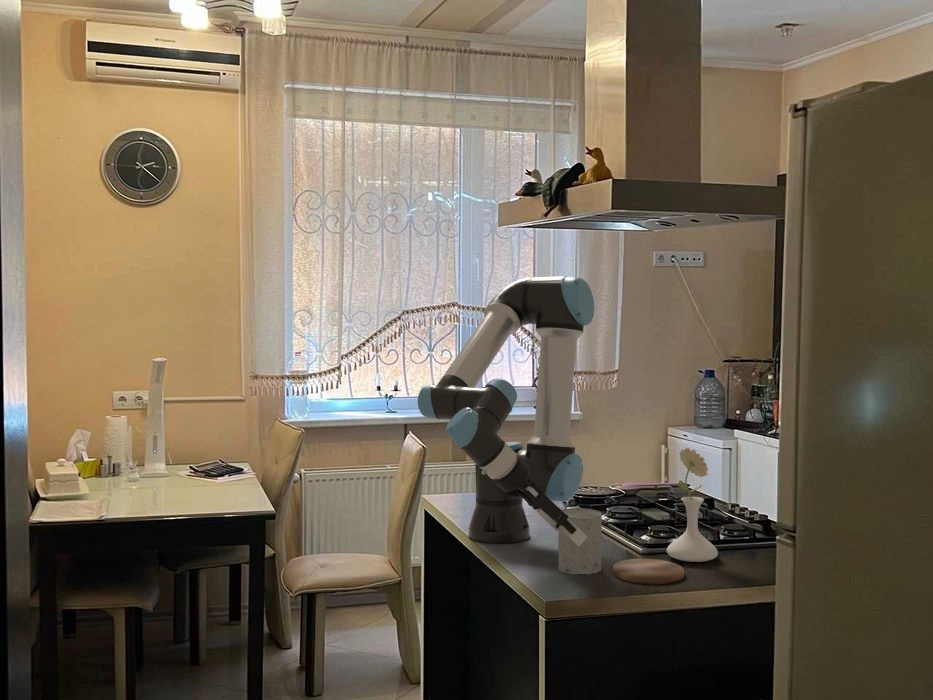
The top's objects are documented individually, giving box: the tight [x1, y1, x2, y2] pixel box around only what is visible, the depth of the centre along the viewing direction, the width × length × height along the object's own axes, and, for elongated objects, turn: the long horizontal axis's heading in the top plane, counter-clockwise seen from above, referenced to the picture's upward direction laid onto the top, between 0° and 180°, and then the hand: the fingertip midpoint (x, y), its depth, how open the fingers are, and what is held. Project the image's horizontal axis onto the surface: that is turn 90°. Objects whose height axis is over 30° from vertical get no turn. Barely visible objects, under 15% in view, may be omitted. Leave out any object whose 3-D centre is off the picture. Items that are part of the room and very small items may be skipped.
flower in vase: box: [665, 447, 719, 563], centre depth 221 cm, size 13×11×25 cm
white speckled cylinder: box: [557, 507, 603, 575], centre depth 213 cm, size 10×10×12 cm
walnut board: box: [612, 558, 685, 585], centre depth 209 cm, size 15×15×1 cm
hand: (571, 533), depth 212 cm, fingers open, 13 cm apart
